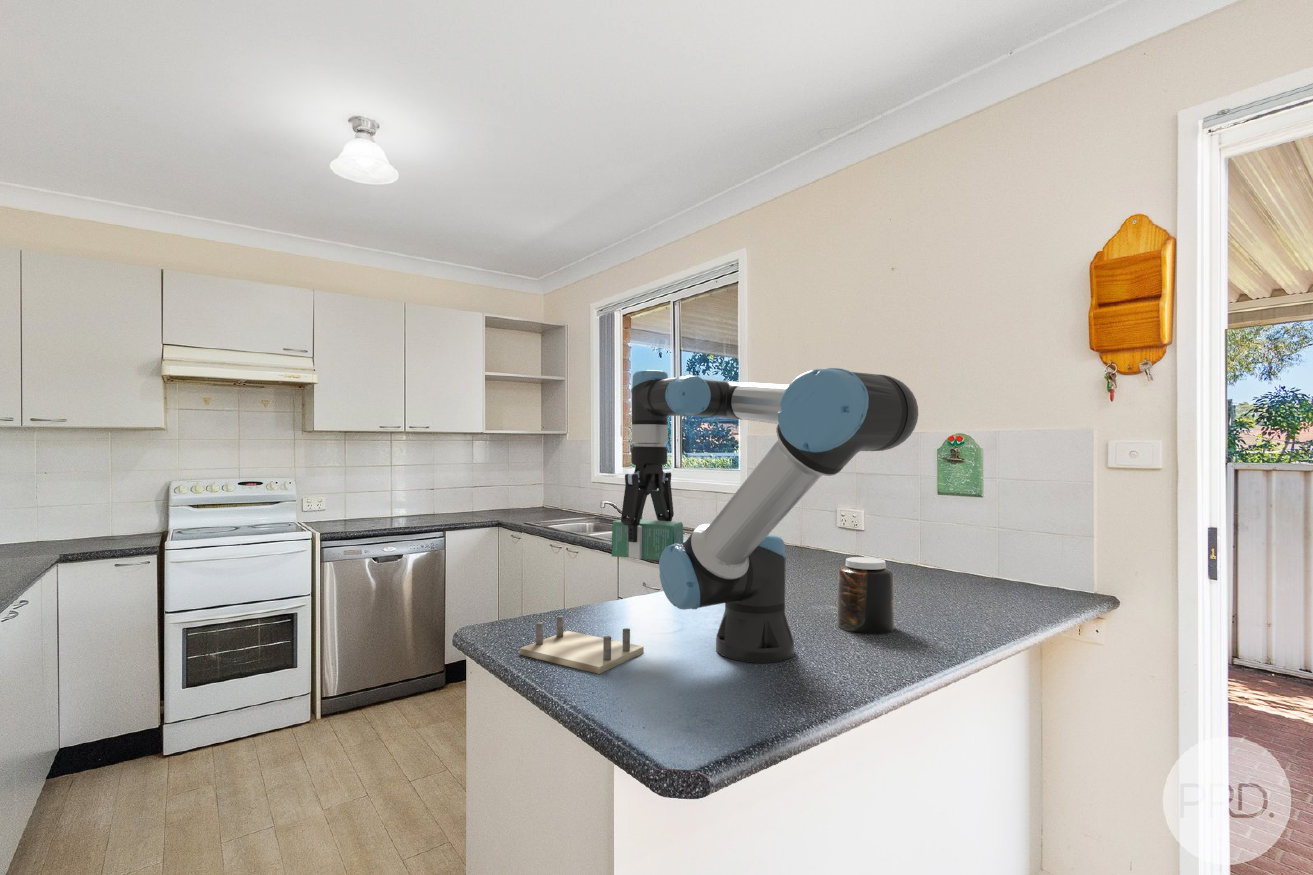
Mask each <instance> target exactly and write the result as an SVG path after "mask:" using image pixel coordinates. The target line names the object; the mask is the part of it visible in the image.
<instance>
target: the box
mask: <svg viewBox="0 0 1313 875" xmlns="http://www.w3.org/2000/svg"><path fill="white" fill-rule="evenodd" d="M639 526H642V560H643V559H644V560H654V561H660V557H661V554H662V552H663V550H664V549H665V548H666V547H667V546H669V545H672V544H674V543H677V544H682V543H684V524H683V522H681V521H673V520H672V521H659V520H657V519H641V520H640V524H639ZM611 531H612V532H611V557H617V558H618V557H619V558H629V541H628V525H624V524H623V523H622V522H621V519H617V520H613V521H612V529H611Z"/></svg>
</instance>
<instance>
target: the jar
mask: <svg viewBox="0 0 1313 875" xmlns="http://www.w3.org/2000/svg"><path fill="white" fill-rule="evenodd" d="M886 565H887V564H886V560H885V559H882V558H877V557H876V558H875V557H867V556H865V557H864V556H854V557H853V556H852V557H847V558H845V565H843V566H841V567H840V568H838V572H837V573H838V574H837V627H838V628H840V629H841V630H843V631H846V632H850V633H856V634H863V635H886V634H890V633H892V632H893V631H894V630H895V581H894V580H895V578H894V572H893V571H892V569H889V568H887V566H886Z"/></svg>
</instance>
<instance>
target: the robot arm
mask: <svg viewBox="0 0 1313 875" xmlns="http://www.w3.org/2000/svg"><path fill="white" fill-rule="evenodd" d="M631 382H632V383H631V389H630V392H631V443H632V444H633V446H632V447H631V449H630V462H631V464H632V465H634V466H635V467H634V472H633V473H625V474H624V483H625V486H624V495H623V501H622V510H621V517H620V520H621V522H622V523H623V524H624V525H628V541H629V557H628V559H629V558H630V559H637V560H641V559H642V526H639V524H640V520H642V516H643V512H644V508H645V505H646V501H647V497H648V496H649V495H650V497H651V500H652V501H651V502H652V505H653V509H654V513H655V517H656V520H658V521H673V517H674V502H673V494H672V483H671V482H672V472H671V471H664V469H663V465H664V466H665V465H666V464H668V448H667V447H666V445H667V444H668V443H669V442H668V441H669V440H668V438H669V437H668V436H669V435H668V432H669V431H668V429H669V428H668V417H676V416H677V417H678V416H679V417H680V416H681V417H682V416H683V417H701V418H702V417H703V418H704V417H705V418H720V419H722V418H724V419H731V420H732V419H733V420H741V421H749V422H750V421H751V422H759V423H768V424H776V436H777V440H776V442H775V443H774V444H773V445H772V447H771V448H770V449H769V450H768V452H767V453H766V454H765V455H764V457H763V458H762V459H761V460H760V462H758V464H757V465H756V466H755V467H754V469H753V470H752V471H751V473H750V474H749V476H748V477H747V478H746V479H745V481H743V483H742V484H741V485H740V487H739V488H738V489H737V490H736V492H735V493H734V494H733V495H732V497H730V499H729V501H727V503H726V504H725V505H724V506H723V508H722V509H721V510H720V512H719V513H718V514H717V515H716V516H715V517H714V519H713V520H712V522H710V523H703V524H700V525H699V526H697V527H696V528H694V530H693V531H692V533H691V534H690V535H689V537H687V538H686V540H685V541H683V543H682V544H677V543H674V544H672V545H669V546H667V547H666V548H665V549H664V550H663V552H662V554H661V557H660V560H658V561H659V563H658V571H659V574H658V575H659V581H660V585H661V588H662V591H663V593H664V595H665V597H666V598H667V600H668V601H669V603H670V604H671V605H673V606H674V607H676V608H677V609H679V610H698V609H699V608H706V607H711V606H715V605H720V604H724V613H723V615H722V619H721V622H720V624H719V627H718V631H717V633H716V638H715V650H716V652H717V653H718V654H720V655H721V656H723V657H725V658H727V659H732V660H734V661H739V662H746V663H759V664H760V663H761V664H762V663H765V664H766V663H776V662H782V661H785V660H788V659H790V658H792V657H793V656H794V655H795V640H794V636H793V634H792V631H791V627H790V624H789V621H788V617H787V615H786V569H787V568H786V567H787V566H786V564H787V563H786V560H787V555H786V547H785V546H786V544H785V541H784V539H783V538H781V536H778V535H773V534H770V533H772V531H773V530H774V529H775V528H776V527H777V526H778V524H780V523H781V521H782V520H784V518H785V517H786V516H787V515H788V514H789V513H790V512H791V510H792V509H793V508H794V507H795V506H796V505H797V504H798V503H799V502H800V501H801V499H803V497H804V496H805V495H806V494H807V493H808V492H809V491H810V489H812V487H813V486H814V485H815V484H816V483H817V482H818V481H819V479H821V478H822V477H823V476H832V477H833V476H835V475H838V474H839V473H840V472H841V471H842V469H844V467H845V466H847V465H848V463H849V462H850V461H852V459H853V458H854V457H855V456H856V455H857V454H858V453H859V452H860V453H861V452H883V451H887V450H891V449H893V448H896V447H898V446H900V445H901V444H903V443H905V441H907V439H909V437H911V435H912V434H913V432H914V430H915V428H916V426H917V425H918V424H917V423H918V418H919V406H918V402H917V398H916V396H915V394H914V393H913V391H912V390H911V389H910V388H909V387H908V385H906V384H905V383H904V382H903V381H901V380H900V379H897V378H896V377H892V376H890V375H885V374H875V373H866V372H865V373H864V372H856V371H849V370H847V369H843V368H839V367H834V368H833V367H830V368H829V367H827V368H815V369H811V370H808V371H806V372H804V373H801V374H800V375H798V376H797V377H795V378H794V379H793V380H792V381H791V382H790V384H788V383H785V384H783V383H764V382H744V381H743V382H742V381H731V380H730V381H726V380H714V379H705V378H702V377H701V376H698V375H686V374H684V375H680V376H676V377H670V378H669V375H668V373H667V372H666V371H663V370H655V369H652V370H651V369H650V370H649V369H647V370H646V369H645V370H638V371H636V372H634V373H633V375H632V381H631ZM642 560H643V559H642Z"/></svg>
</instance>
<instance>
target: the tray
mask: <svg viewBox="0 0 1313 875" xmlns="http://www.w3.org/2000/svg"><path fill="white" fill-rule="evenodd" d="M564 626H565V625H564V616H563V615H557V616H556V634H555V635H553V636H550V637H547V638H544V622H536V623H535V642H533V643H530V644H527V645H525V646H523V647H520V648H519V655H521V656H524V657H529V658H533V659H536V660H540V661H541V660H542V661H546V662H548V663H553V664H557V665H562V666H566V667H570V668H574V669H578V670H582V671H585V672H589V673H590V672H591V673H594V674H598V675H601V674H602V673H605V672H607V671H608V670H610V669H612V668H615V667H617V666H619V665H621V664H623V663H625V662H627V661H630V660H631V659H633V658H636V657H637V656H640V655H641V654H643V653H645V652H644V649H645V647H644V646H643V645H640V644H639V645H638V644H635V643H631V629H630V628H622V641H619V640H616V639H615V640H614V639H612V636H611V635H605V636H603V637H600V636H595V635H591V634H584V633H581V632H580V633H579V632H575V631H570V630H566V631H564Z"/></svg>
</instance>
